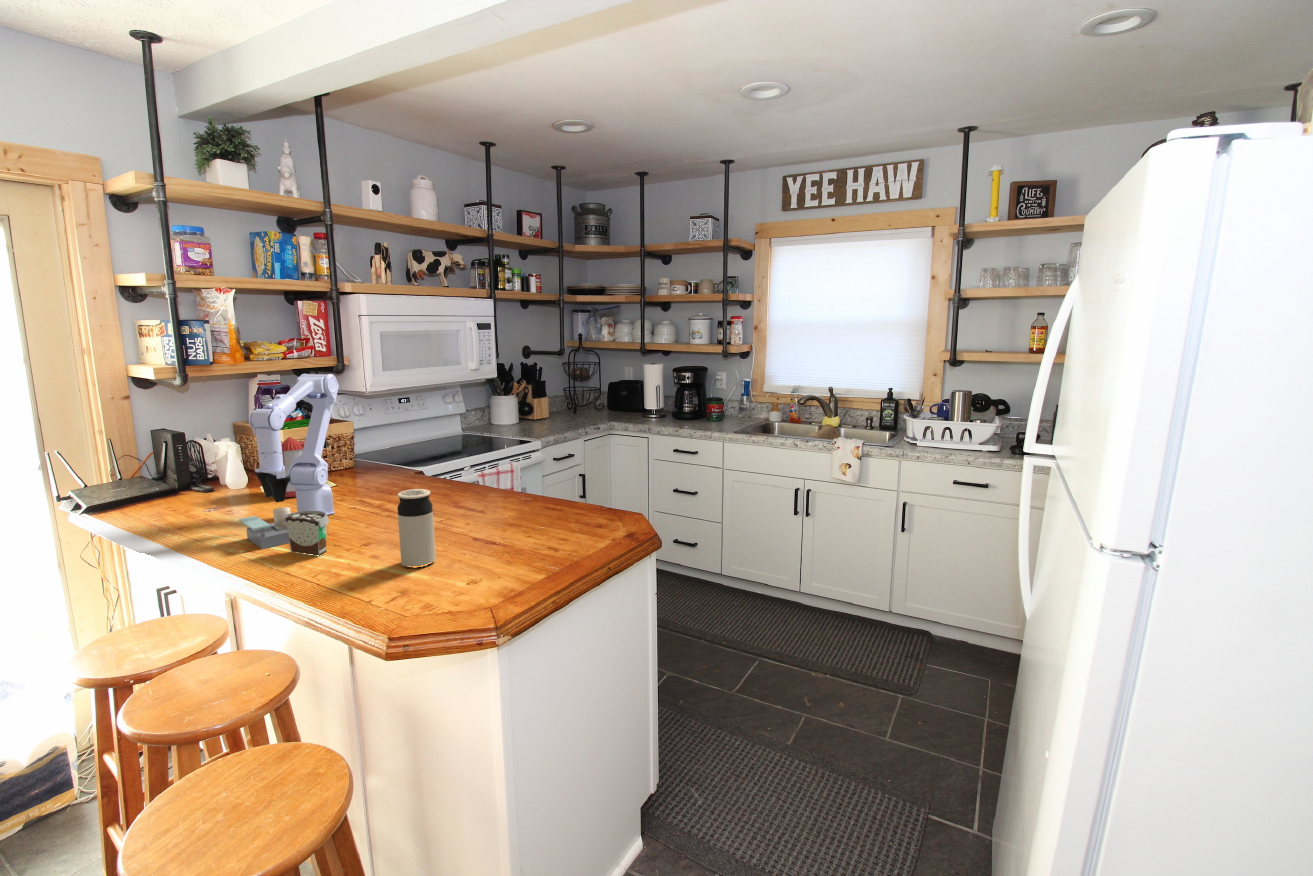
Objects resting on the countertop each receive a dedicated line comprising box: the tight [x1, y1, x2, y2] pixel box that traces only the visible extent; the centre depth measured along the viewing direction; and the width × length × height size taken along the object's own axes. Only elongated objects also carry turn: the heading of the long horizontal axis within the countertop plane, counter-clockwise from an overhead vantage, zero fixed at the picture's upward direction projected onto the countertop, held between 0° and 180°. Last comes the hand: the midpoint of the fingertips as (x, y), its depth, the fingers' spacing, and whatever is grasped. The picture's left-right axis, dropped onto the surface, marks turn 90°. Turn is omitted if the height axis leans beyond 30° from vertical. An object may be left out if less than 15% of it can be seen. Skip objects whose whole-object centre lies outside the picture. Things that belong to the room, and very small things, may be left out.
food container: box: [284, 511, 330, 557], centre depth 164 cm, size 12×6×10 cm, turn 71°
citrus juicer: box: [281, 436, 305, 498], centre depth 217 cm, size 16×17×20 cm
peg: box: [272, 506, 291, 531], centre depth 175 cm, size 4×4×8 cm
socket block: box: [238, 515, 290, 550], centre depth 173 cm, size 14×12×6 cm
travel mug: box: [397, 488, 437, 567], centre depth 155 cm, size 8×8×18 cm
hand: (275, 499), depth 179 cm, fingers open, 7 cm apart
